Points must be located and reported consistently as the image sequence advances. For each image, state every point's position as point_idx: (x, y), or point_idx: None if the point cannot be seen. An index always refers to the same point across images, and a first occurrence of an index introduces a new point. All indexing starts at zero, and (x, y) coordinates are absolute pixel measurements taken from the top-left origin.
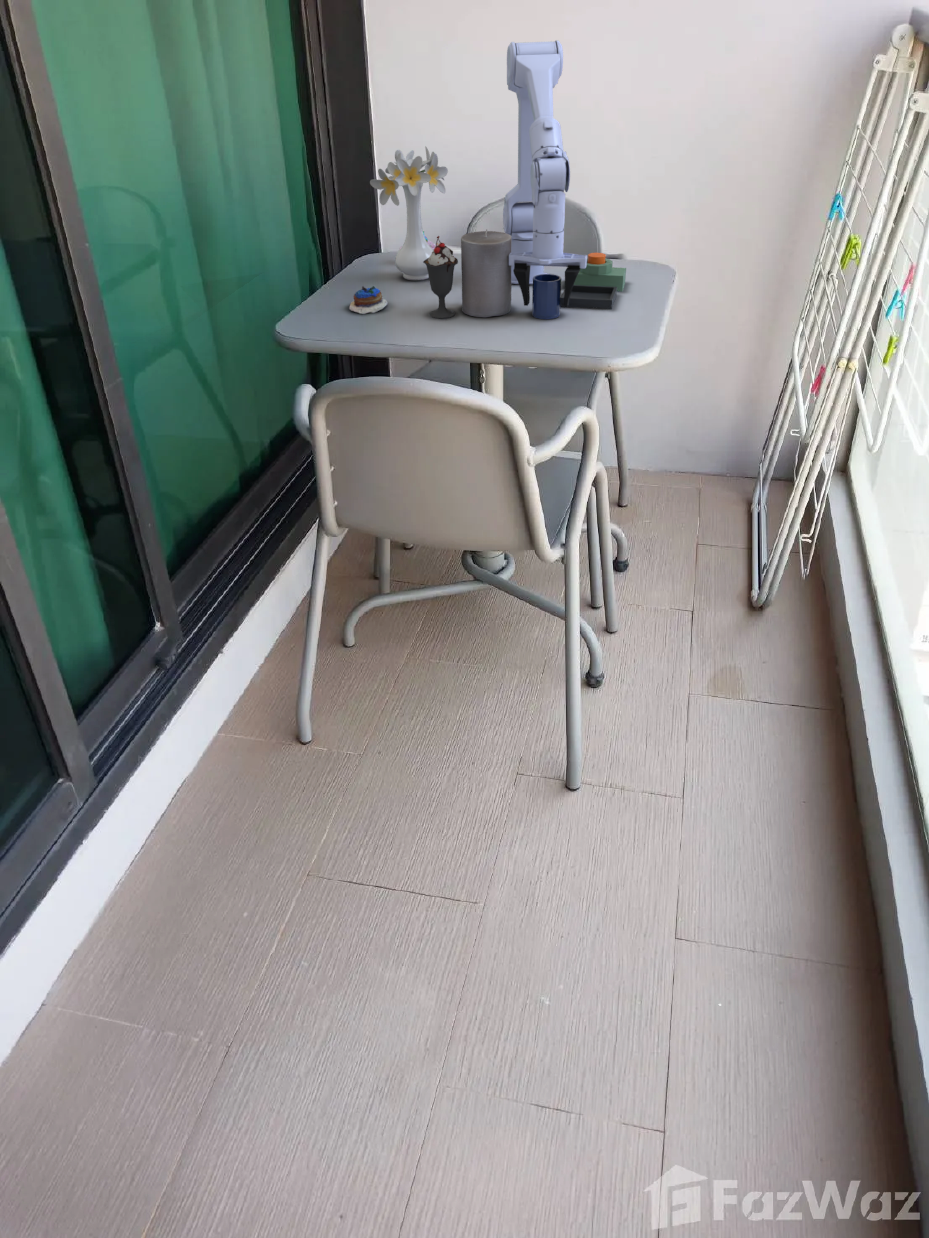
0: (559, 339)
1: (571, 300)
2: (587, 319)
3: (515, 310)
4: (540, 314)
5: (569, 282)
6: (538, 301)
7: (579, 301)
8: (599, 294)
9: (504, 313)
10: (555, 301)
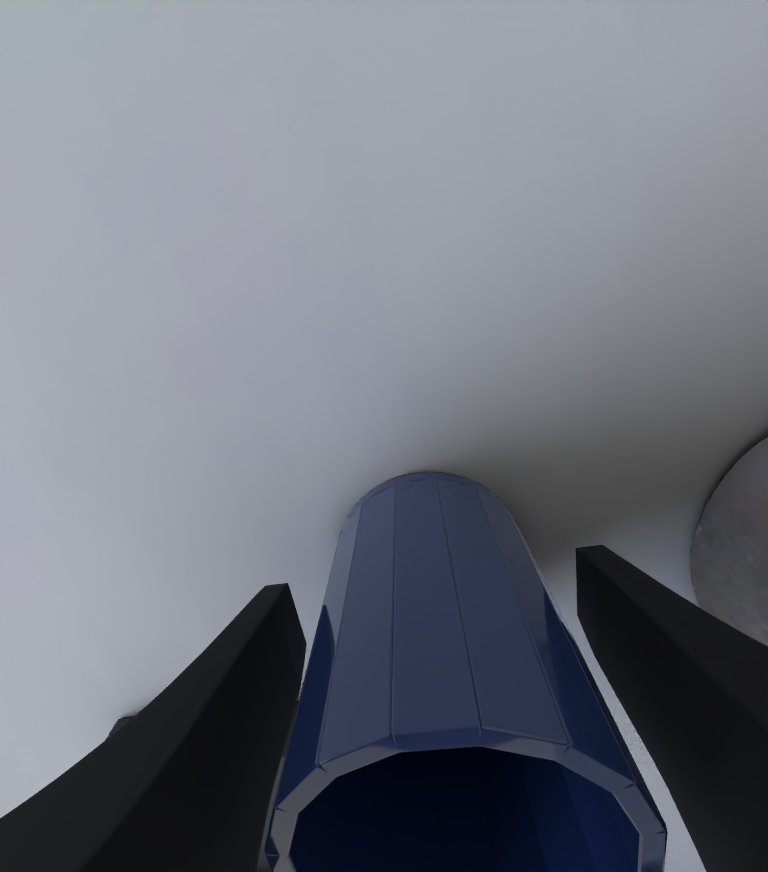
0: (106, 28)
1: None
2: (154, 553)
3: None
4: (443, 486)
5: (94, 785)
6: (479, 543)
7: None
8: None
9: (728, 480)
10: (331, 587)
